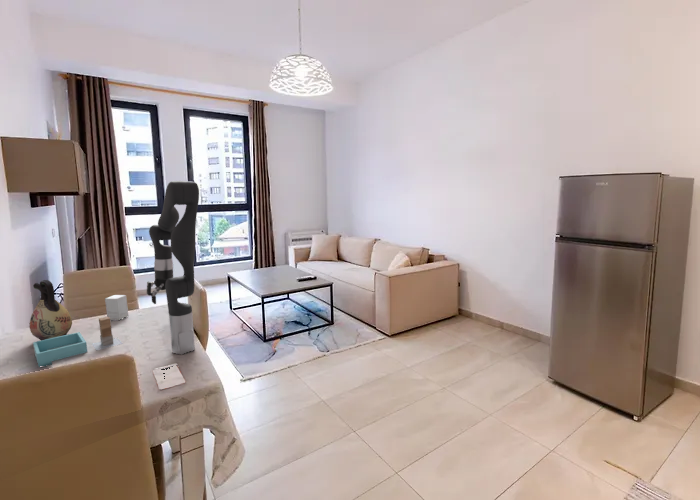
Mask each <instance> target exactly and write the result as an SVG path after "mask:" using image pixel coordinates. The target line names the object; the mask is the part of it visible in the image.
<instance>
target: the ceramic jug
mask: <svg viewBox="0 0 700 500" xmlns="http://www.w3.org/2000/svg"><path fill="white" fill-rule="evenodd" d="M33 289H35V290H38V291H39V292H40V299H39V301H38V303H37V304H36V306H35V308H34V310H33V311H32V313H31V316H30V319H29V322H28V323H29V326H28V327H29V330H30V333H31V335H32V336H33V337H35V338H37V339H38V340H39V341H41V340H46V339H50V338H55V337H59V336H64V335H68V333H69V332H70V330H71V328H72V325H73V319H72V317H71V314H70V312H69V311H68V309H67V308H66V307H65V306H64V305H63V304H62V303H61V302H59V301H58V300H56V297H55V289H54V285H53V283H52V282H51V281H50V280H48V279H41V281H40V282H39V283H38V282H34V283H33Z"/></svg>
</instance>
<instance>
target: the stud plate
mask: <svg viewBox="0 0 700 500" xmlns="http://www.w3.org/2000/svg"><path fill="white" fill-rule="evenodd" d="M113 343H114V344H110V345H106V346H102V344H101V341H97V342H94V343H93V342H92V343H91V345H92V347H93V348H94V350H96V351H100V350H104V349H107V348H108V349H109V348H111V347H112V348H113V347H114V346H115V347H116V346H120V345H123V344H124V343H123V342H122V341H121V340H120V339H119V338H118V337H113Z"/></svg>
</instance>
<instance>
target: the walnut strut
mask: <svg viewBox="0 0 700 500" xmlns="http://www.w3.org/2000/svg"><path fill="white" fill-rule="evenodd" d="M98 322H99V333H100V335H99V336H100V337H99V338H100V342H101V344H102V346H106V345H110V344H114V343H113V338H114V335H113V332H112V324H111V320H110V318H109V317H107V316H104V317H100V318H99V317H98Z"/></svg>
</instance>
